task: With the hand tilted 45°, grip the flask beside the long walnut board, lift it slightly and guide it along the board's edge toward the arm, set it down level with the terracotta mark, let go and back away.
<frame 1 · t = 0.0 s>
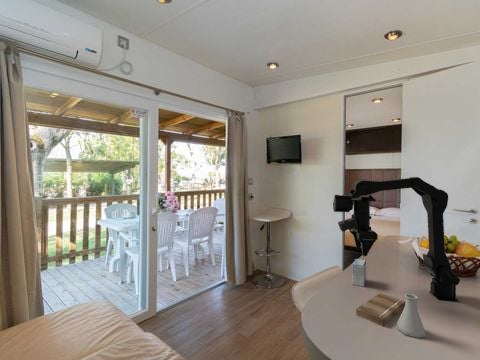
hand: (361, 252, 100), 15 cm above the counter, tool pointing down, fingers open, 9 cm apart
medicine box: (359, 282, 107), on the counter
walnut board: (381, 310, 84), on the counter
flask: (410, 331, 73), on the counter
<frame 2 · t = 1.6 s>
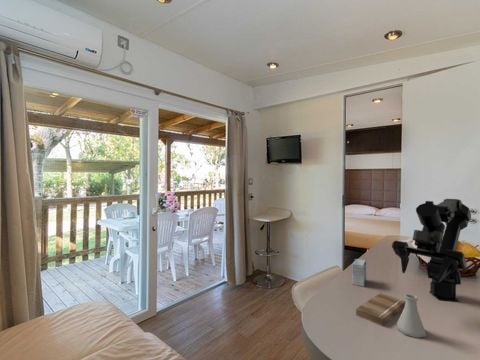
hand: (419, 276, 79), 13 cm above the counter, tool tilted 45°, fingers open, 9 cm apart
nothing on the counter moved.
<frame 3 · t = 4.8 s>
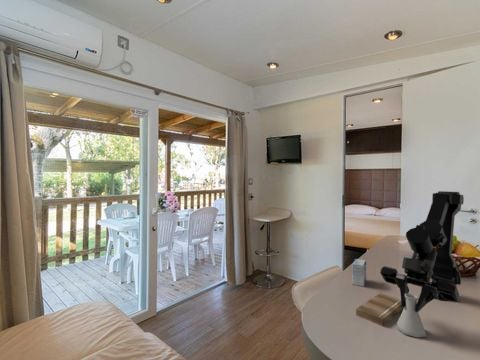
hand: (409, 309, 72), 7 cm above the counter, tool tilted 45°, fingers closed on flask, 3 cm apart
flask: (410, 331, 73), on the counter, touching gripper
everything else where it was.
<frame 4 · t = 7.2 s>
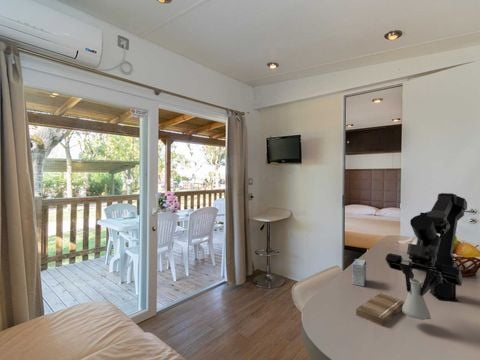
hand: (414, 293, 75), 10 cm above the counter, tool tilted 45°, fingers closed on flask, 3 cm apart
flask: (415, 314, 76), point 3 cm above the counter, touching gripper
everything else where it was.
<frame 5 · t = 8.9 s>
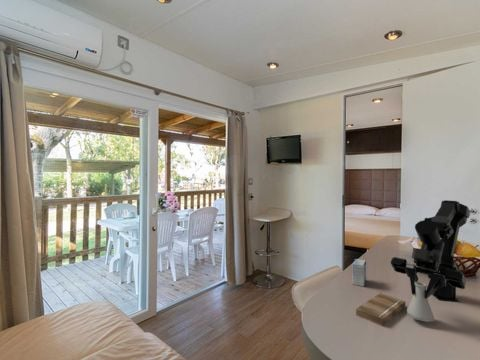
hand: (419, 295, 78), 8 cm above the counter, tool tilted 45°, fingers closed on flask, 3 cm apart
flask: (420, 316, 79), point 1 cm above the counter, touching gripper
everything else where it was.
when the fingers open (7 cm above the counter, at t = 10.0 s): flask stays where it is, on the counter.
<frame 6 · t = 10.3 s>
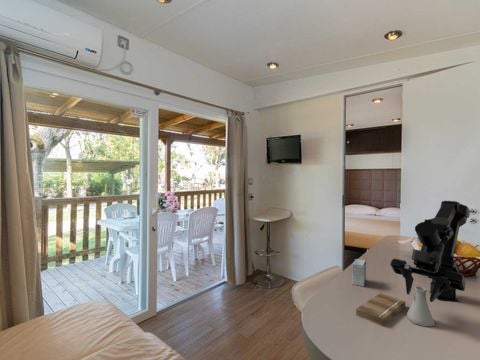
hand: (418, 297, 78), 8 cm above the counter, tool tilted 45°, fingers open, 6 cm apart
flask: (420, 321, 79), on the counter
everything else where it was.
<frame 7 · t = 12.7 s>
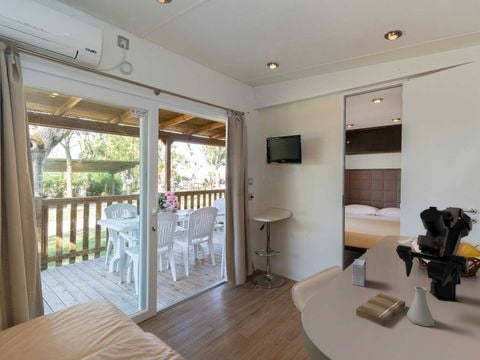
hand: (424, 280, 81), 11 cm above the counter, tool tilted 45°, fingers open, 9 cm apart
nothing on the counter moved.
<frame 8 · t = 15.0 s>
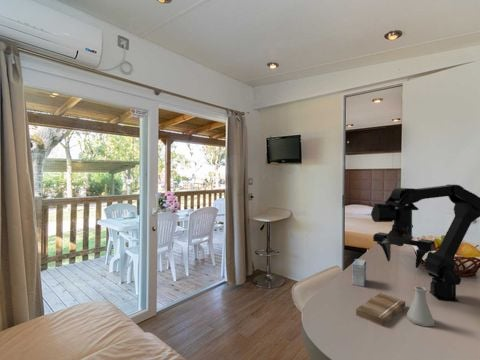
hand: (402, 264, 94), 12 cm above the counter, tool pointing down, fingers open, 9 cm apart
nothing on the counter moved.
at the end: flask 0.5 cm from the target spot, on the counter; flask tilted 0°; the gripper is holding nothing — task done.
